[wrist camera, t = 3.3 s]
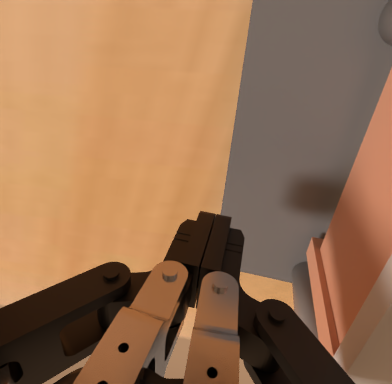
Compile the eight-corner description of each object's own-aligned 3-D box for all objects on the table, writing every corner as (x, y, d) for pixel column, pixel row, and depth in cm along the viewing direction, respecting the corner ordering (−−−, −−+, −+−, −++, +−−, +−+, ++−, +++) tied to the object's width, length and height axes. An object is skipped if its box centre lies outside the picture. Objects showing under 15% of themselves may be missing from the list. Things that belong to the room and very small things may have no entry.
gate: (376, 59, 12) (516, 108, 5) (414, 63, 12) (613, 119, 5) (306, 252, 17) (327, 402, 10) (331, 257, 17) (369, 414, 10)
